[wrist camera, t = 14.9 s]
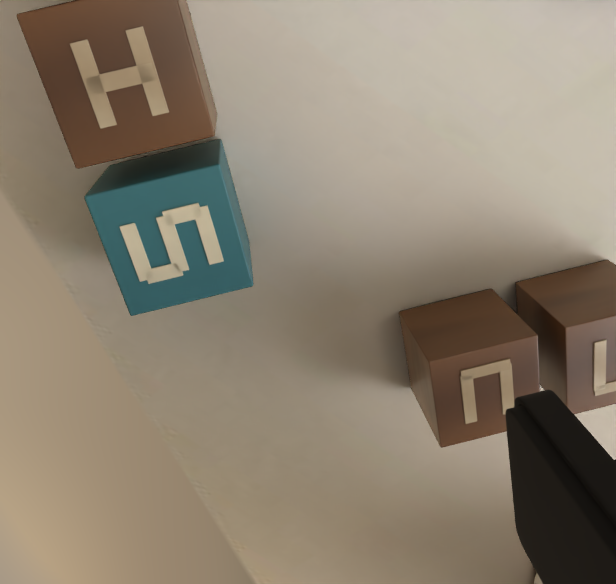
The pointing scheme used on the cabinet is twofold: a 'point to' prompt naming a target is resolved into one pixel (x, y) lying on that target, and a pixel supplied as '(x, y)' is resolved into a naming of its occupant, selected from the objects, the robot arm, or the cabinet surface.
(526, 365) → the wooden toy block
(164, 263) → the letter s
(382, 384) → the cabinet surface
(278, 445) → the cabinet surface
